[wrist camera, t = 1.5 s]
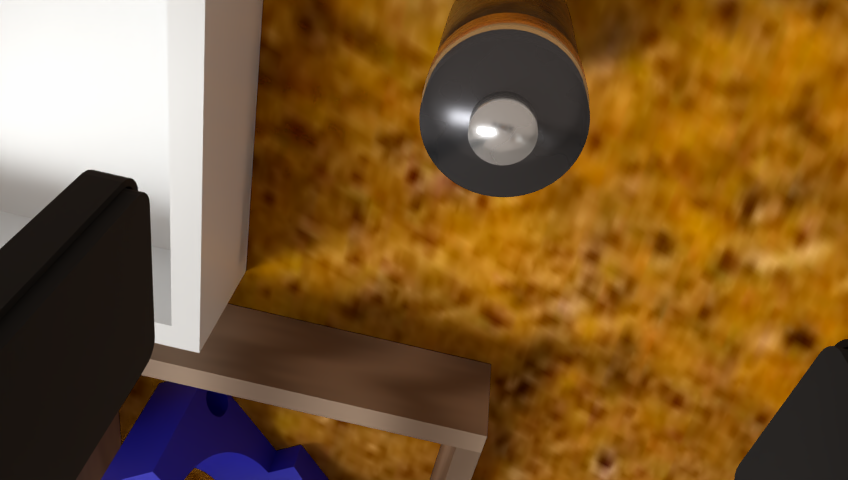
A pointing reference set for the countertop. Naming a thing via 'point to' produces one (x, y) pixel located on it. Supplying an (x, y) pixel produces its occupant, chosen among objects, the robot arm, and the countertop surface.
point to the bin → (140, 131)
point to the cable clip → (203, 442)
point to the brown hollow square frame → (331, 383)
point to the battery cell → (505, 97)
